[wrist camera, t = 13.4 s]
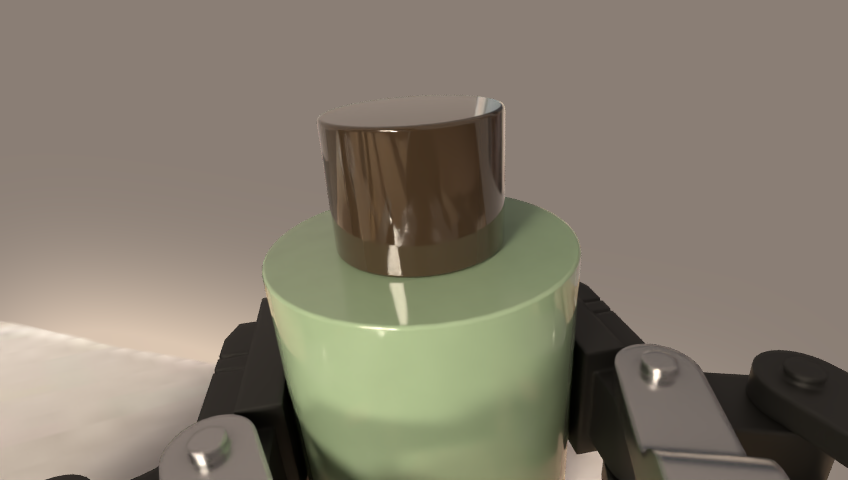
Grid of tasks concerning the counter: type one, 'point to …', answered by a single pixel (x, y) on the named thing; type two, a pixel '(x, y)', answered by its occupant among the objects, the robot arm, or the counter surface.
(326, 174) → the bottle
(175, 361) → the counter surface
